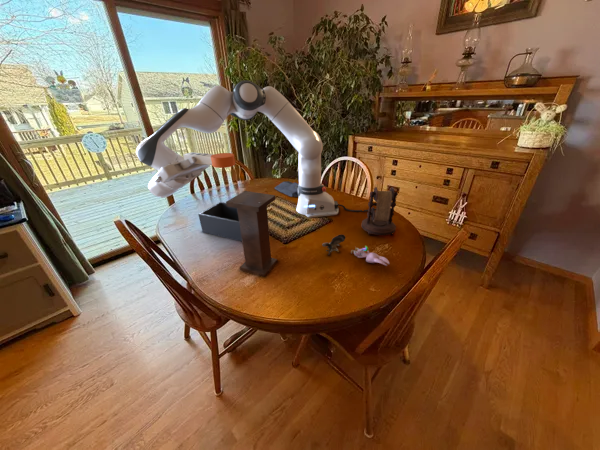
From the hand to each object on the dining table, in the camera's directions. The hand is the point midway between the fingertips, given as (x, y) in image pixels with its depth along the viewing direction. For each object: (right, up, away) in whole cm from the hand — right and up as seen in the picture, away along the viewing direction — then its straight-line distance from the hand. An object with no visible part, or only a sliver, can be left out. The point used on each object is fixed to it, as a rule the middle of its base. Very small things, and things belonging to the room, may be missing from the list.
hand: (199, 157), depth 77 cm
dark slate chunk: (+28, 0, +75) cm, 80 cm away
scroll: (+68, -24, +30) cm, 78 cm away
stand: (+18, -37, +8) cm, 42 cm away
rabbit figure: (+58, -36, +10) cm, 69 cm away
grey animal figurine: (+46, -32, +16) cm, 58 cm away
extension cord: (+4, -2, -1) cm, 5 cm away
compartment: (+2, -24, +31) cm, 40 cm away
